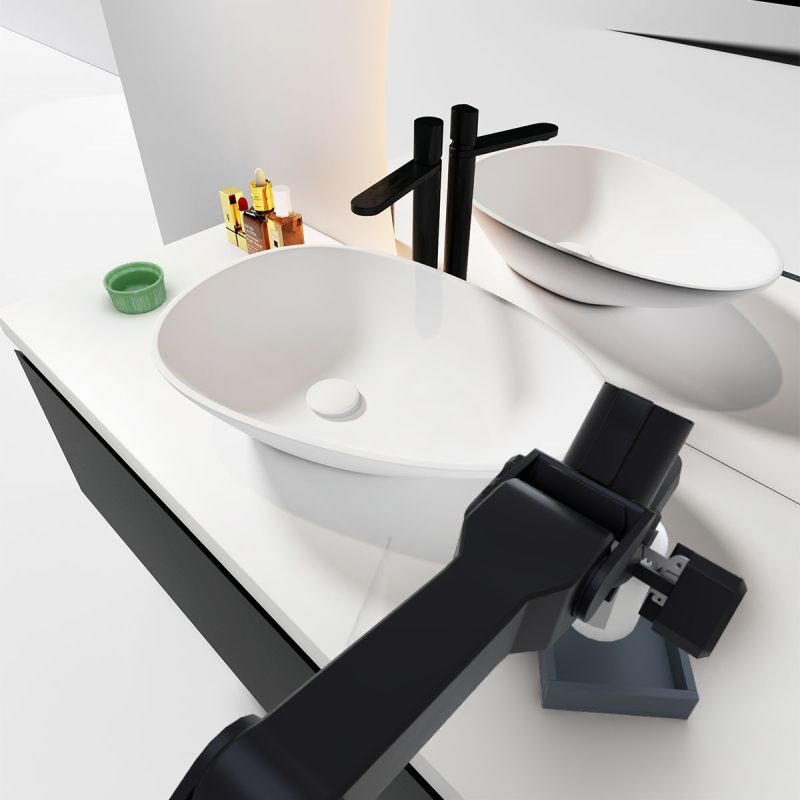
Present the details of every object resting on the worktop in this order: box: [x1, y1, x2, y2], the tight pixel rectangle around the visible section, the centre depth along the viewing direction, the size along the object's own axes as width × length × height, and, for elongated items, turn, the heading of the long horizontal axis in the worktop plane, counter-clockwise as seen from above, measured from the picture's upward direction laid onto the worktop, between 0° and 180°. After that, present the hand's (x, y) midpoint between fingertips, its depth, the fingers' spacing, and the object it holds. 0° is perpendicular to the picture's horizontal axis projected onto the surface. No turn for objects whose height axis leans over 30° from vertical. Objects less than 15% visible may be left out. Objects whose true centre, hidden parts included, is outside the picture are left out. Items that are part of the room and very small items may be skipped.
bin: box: [537, 615, 700, 720], centre depth 65 cm, size 13×13×4 cm
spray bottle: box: [572, 521, 669, 641], centre depth 57 cm, size 7×7×18 cm
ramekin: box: [102, 261, 167, 314], centre depth 109 cm, size 9×9×4 cm
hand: (624, 547), depth 59 cm, fingers closed on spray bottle, 7 cm apart
